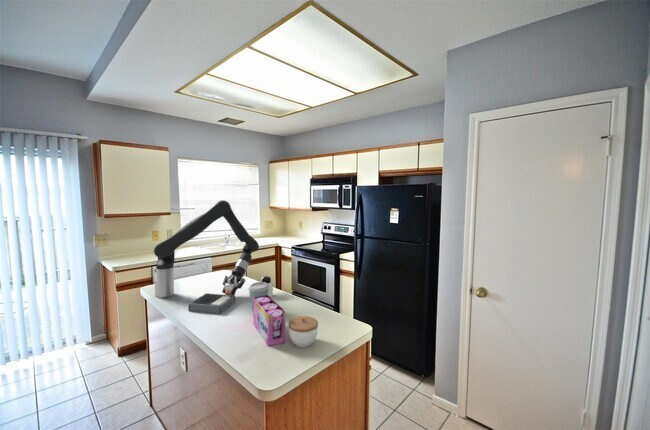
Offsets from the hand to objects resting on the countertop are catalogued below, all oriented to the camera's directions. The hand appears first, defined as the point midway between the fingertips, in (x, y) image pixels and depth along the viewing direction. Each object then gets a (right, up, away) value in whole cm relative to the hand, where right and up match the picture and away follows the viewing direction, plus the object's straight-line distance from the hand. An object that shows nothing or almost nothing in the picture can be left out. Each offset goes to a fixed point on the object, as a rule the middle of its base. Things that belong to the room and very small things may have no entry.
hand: (227, 293), depth 162 cm
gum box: (+31, -8, -36) cm, 48 cm away
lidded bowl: (+48, -9, -44) cm, 65 cm away
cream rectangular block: (0, -5, -11) cm, 12 cm away
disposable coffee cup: (+21, -6, -14) cm, 26 cm away
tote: (-5, -5, -10) cm, 13 cm away
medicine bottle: (+20, -5, +10) cm, 23 cm away
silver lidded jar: (0, -5, +2) cm, 5 cm away
